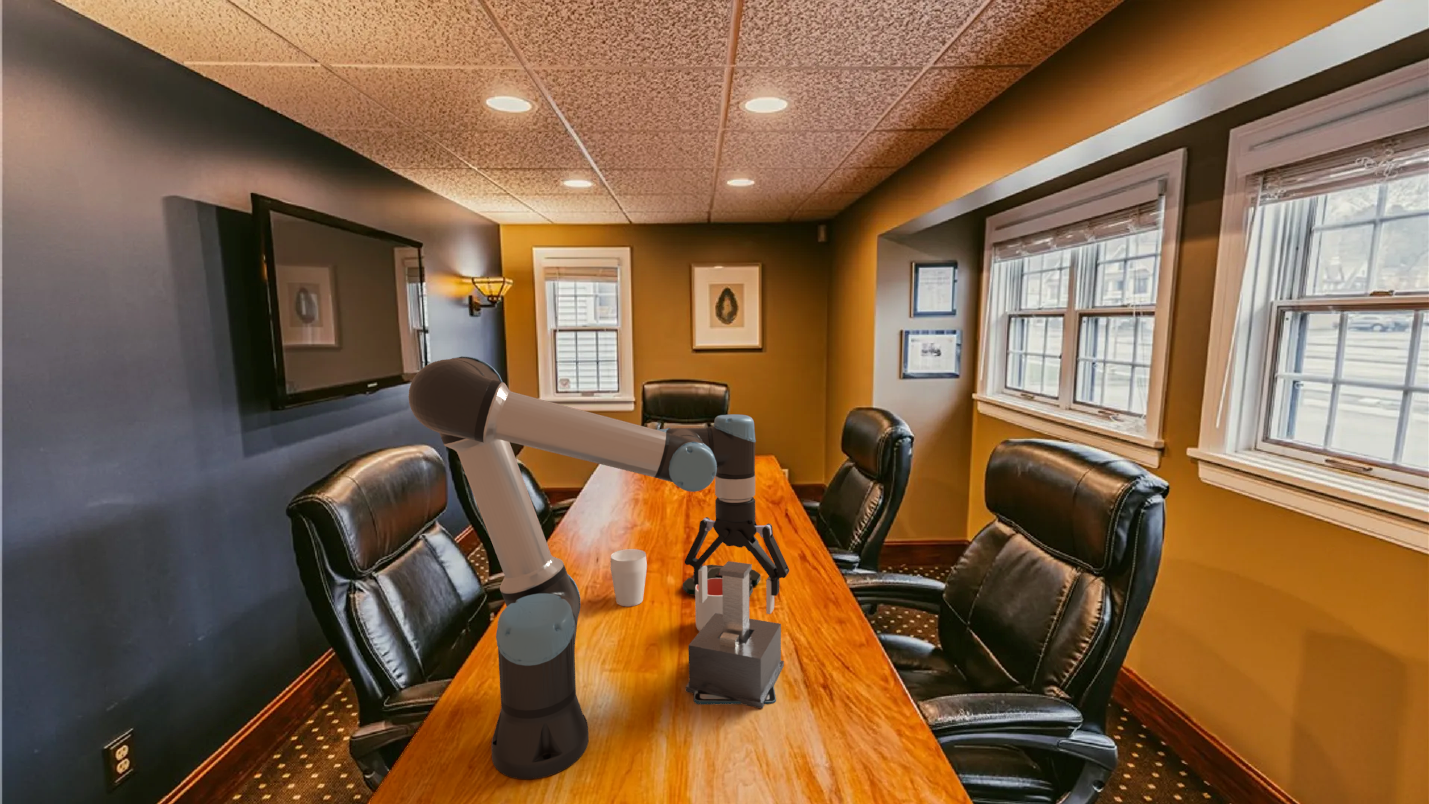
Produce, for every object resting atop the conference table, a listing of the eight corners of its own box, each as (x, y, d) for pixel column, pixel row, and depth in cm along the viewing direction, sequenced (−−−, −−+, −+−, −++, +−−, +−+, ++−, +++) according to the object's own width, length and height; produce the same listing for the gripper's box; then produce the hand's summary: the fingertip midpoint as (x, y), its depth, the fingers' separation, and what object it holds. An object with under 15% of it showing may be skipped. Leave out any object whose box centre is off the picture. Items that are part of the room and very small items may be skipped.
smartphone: (776, 702, 109) (693, 701, 109) (776, 707, 109) (693, 706, 109) (772, 679, 116) (694, 678, 116) (772, 683, 117) (694, 682, 116)
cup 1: (641, 610, 147) (639, 562, 146) (606, 607, 149) (604, 560, 147) (652, 594, 156) (651, 549, 154) (619, 592, 157) (617, 547, 156)
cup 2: (701, 642, 131) (701, 598, 130) (691, 621, 141) (690, 580, 140) (745, 636, 134) (745, 592, 133) (732, 616, 143) (732, 575, 142)
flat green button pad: (745, 607, 149) (745, 589, 148) (678, 597, 155) (677, 580, 154) (763, 579, 166) (763, 563, 165) (702, 571, 172) (701, 556, 171)
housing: (762, 708, 108) (762, 652, 107) (685, 691, 113) (684, 638, 112) (783, 665, 122) (783, 615, 120) (714, 652, 127) (713, 604, 126)
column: (744, 680, 114) (743, 573, 112) (720, 675, 116) (719, 570, 114) (752, 667, 119) (751, 564, 116) (729, 662, 120) (728, 561, 118)
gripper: (805, 497, 112) (804, 606, 115) (682, 487, 121) (684, 588, 124) (795, 508, 105) (795, 624, 108) (666, 496, 114) (668, 603, 117)
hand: (736, 605), depth 116 cm, fingers open, 13 cm apart
